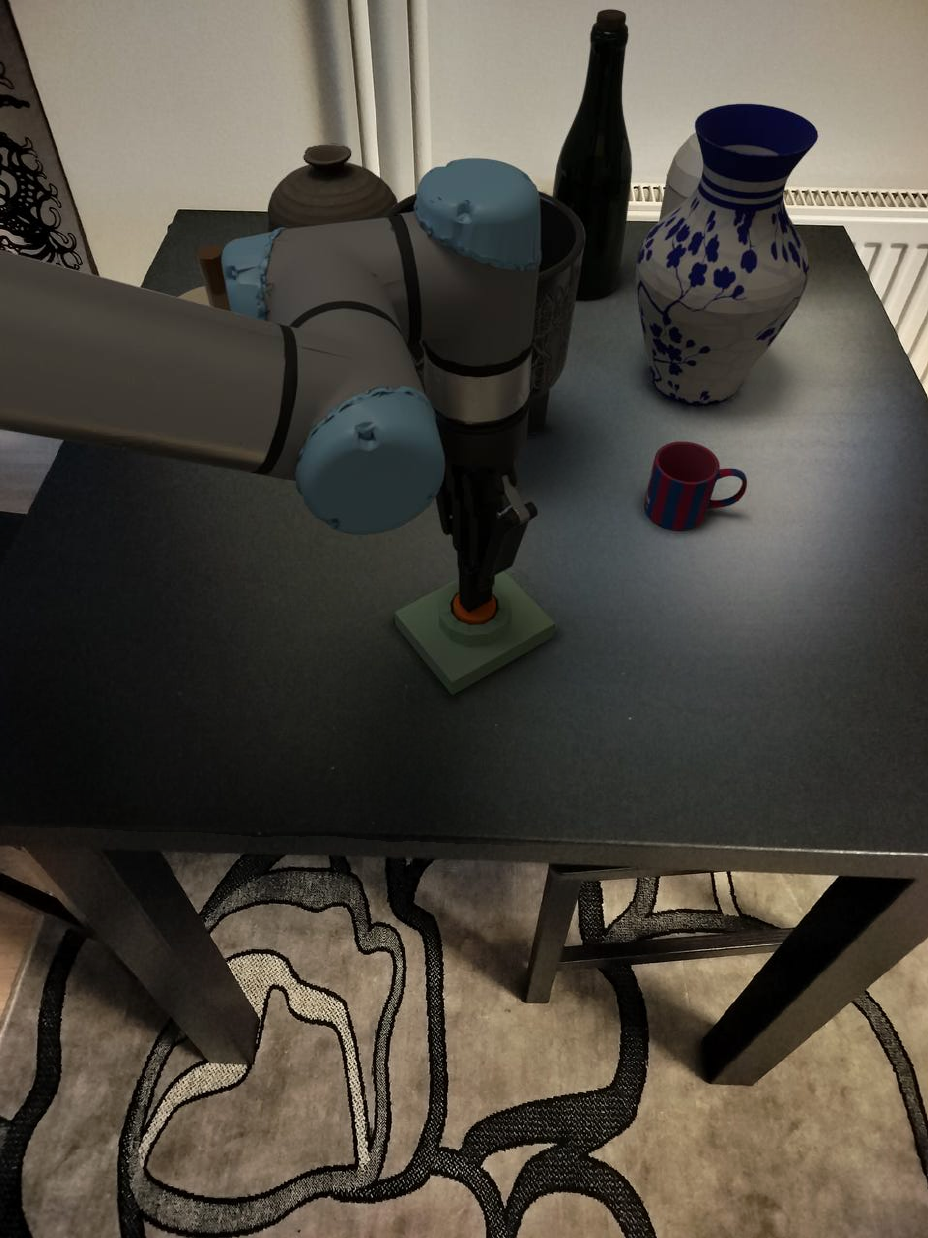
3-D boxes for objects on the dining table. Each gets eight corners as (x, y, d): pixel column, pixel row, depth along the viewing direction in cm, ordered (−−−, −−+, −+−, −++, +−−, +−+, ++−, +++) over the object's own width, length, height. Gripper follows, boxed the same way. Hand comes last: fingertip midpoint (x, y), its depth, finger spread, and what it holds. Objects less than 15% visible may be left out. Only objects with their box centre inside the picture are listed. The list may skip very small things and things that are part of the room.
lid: (192, 383, 94) (170, 307, 87) (139, 316, 102) (114, 242, 95) (317, 336, 100) (306, 261, 93) (257, 276, 108) (243, 203, 100)
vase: (725, 326, 116) (791, 80, 93) (798, 411, 105) (894, 156, 81) (595, 350, 113) (629, 101, 89) (656, 441, 102) (713, 184, 78)
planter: (361, 466, 99) (333, 247, 78) (452, 377, 109) (448, 163, 89) (508, 530, 93) (521, 310, 72) (590, 429, 103) (621, 212, 82)
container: (742, 304, 120) (784, 155, 104) (645, 293, 121) (672, 144, 106) (744, 255, 128) (783, 109, 112) (653, 245, 129) (679, 100, 114)
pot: (267, 266, 125) (253, 119, 109) (389, 261, 128) (392, 119, 113) (280, 339, 114) (266, 188, 98) (412, 332, 118) (419, 185, 102)
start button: (469, 638, 81) (469, 626, 79) (445, 610, 83) (445, 599, 81) (503, 618, 82) (504, 607, 81) (479, 592, 84) (479, 581, 83)
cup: (648, 483, 97) (659, 436, 92) (738, 500, 96) (754, 453, 90) (639, 523, 93) (650, 477, 88) (732, 542, 92) (749, 495, 86)
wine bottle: (617, 263, 126) (657, -3, 100) (618, 303, 120) (660, 30, 94) (546, 260, 127) (567, -6, 101) (542, 299, 120) (564, 26, 94)
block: (452, 695, 80) (451, 671, 77) (395, 625, 85) (392, 600, 82) (553, 636, 84) (557, 611, 81) (493, 573, 89) (494, 547, 86)
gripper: (575, 423, 60) (549, 628, 79) (468, 335, 67) (468, 543, 85) (488, 465, 57) (483, 666, 76) (386, 368, 64) (404, 575, 83)
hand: (475, 601), depth 81 cm, fingers closed
